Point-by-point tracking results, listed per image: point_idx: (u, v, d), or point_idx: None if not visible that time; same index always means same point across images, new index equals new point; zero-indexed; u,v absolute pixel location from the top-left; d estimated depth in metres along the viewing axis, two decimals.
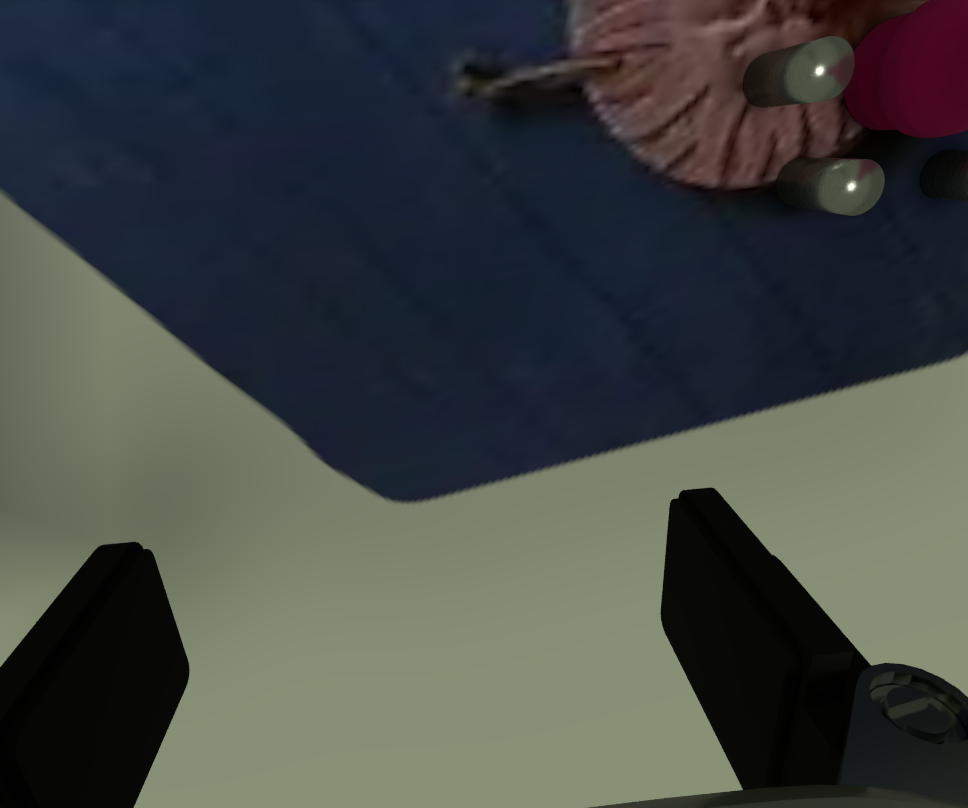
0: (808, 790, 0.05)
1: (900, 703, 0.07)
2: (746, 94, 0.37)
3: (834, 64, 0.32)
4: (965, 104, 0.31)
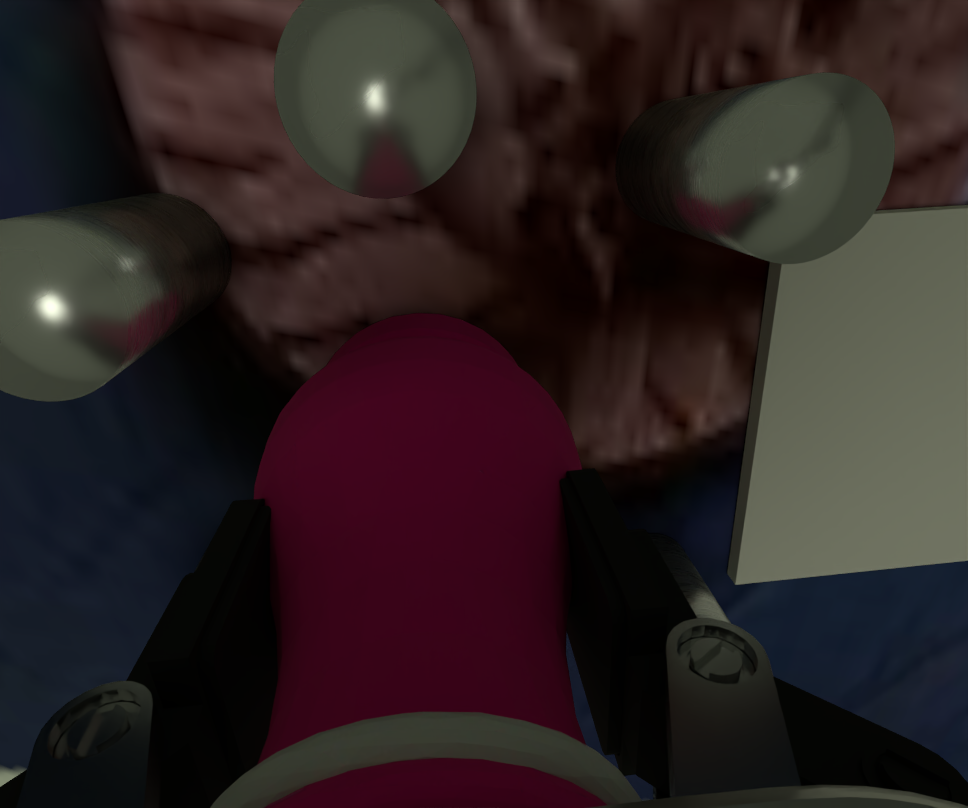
0: (808, 790, 0.05)
1: (702, 655, 0.08)
2: None
3: (394, 119, 0.09)
4: (291, 546, 0.10)
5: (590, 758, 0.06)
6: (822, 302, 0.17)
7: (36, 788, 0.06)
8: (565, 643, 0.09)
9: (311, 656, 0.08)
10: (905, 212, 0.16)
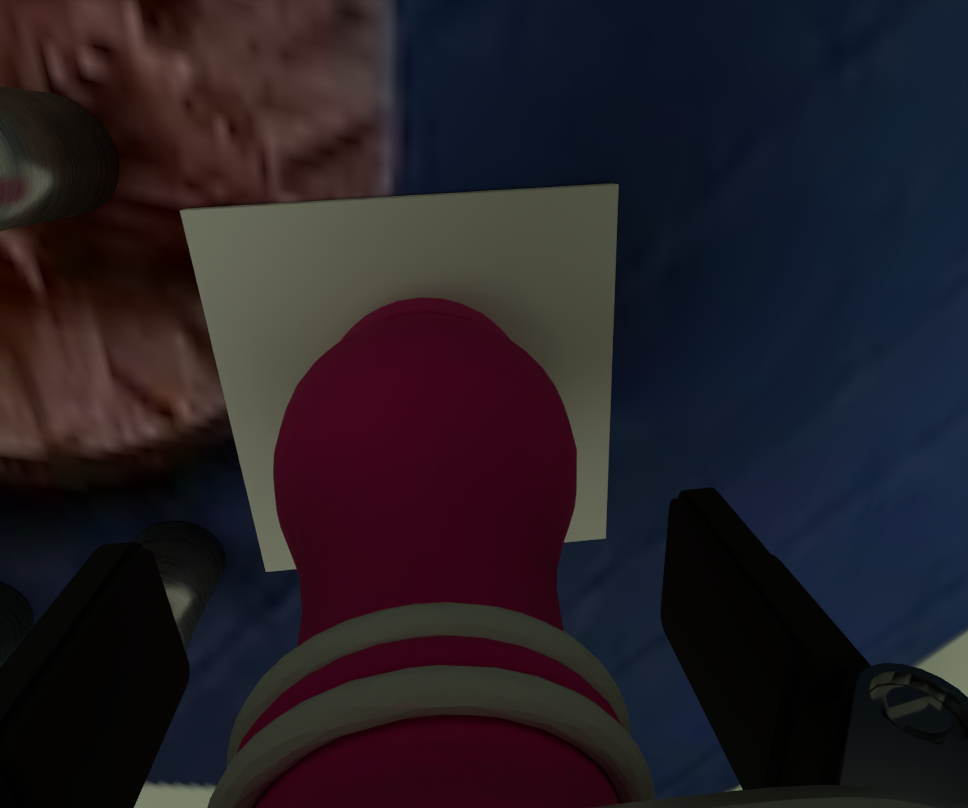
0: (808, 790, 0.05)
1: (900, 703, 0.07)
2: None
3: None
4: (312, 496, 0.11)
5: (572, 643, 0.07)
6: (249, 292, 0.17)
7: None
8: (556, 579, 0.10)
9: (336, 578, 0.09)
10: (303, 203, 0.16)
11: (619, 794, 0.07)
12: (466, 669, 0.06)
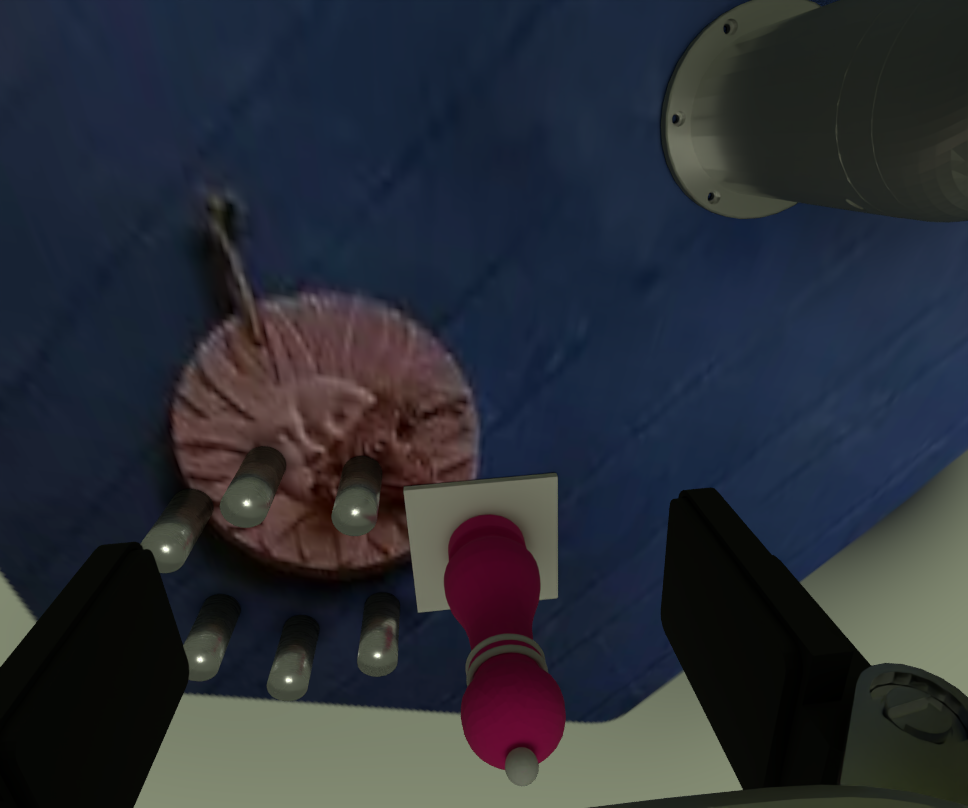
0: (808, 790, 0.05)
1: (900, 703, 0.07)
2: (252, 450, 0.45)
3: (248, 512, 0.40)
4: (467, 602, 0.41)
5: (532, 641, 0.37)
6: (423, 514, 0.48)
7: None
8: (531, 625, 0.41)
9: (481, 626, 0.39)
10: (445, 487, 0.47)
11: (540, 668, 0.37)
12: (514, 645, 0.36)
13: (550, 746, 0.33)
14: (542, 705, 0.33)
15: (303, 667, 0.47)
